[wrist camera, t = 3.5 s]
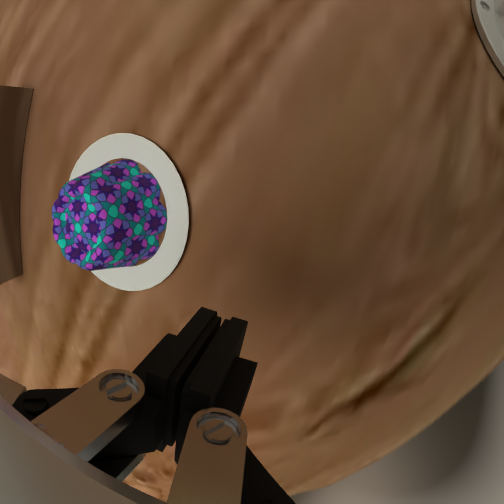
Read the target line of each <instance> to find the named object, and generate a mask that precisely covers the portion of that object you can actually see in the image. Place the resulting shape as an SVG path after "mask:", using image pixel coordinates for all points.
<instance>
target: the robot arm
mask: <svg viewBox="0 0 504 504" xmlns="http://www.w3.org/2000/svg"><path fill="white" fill-rule="evenodd" d="M471 4H472V12H473V17H474V21H475V24H476V27H477V29H478V32H479V35H480V37H481V39H482V41H483V43H484V45H485V47H486V50H487V51H488V53H489V55H490V56H491V58H492V60H493V62H494V63H495V65H496V67H497V68H498V69H499V71H500V72H501V74H502V75H503V77H504V0H471ZM220 324H221V317H218V316H217V312H216V311H213V310H210V309H207V308H204V307H201V308H200V309H199V310H198V312H197V313H196V314H195V315H194V316H193V317H192V319H191V320H190V321H189V322H188V323H187V324H186V326H185V327H184V328H183V329H182V330H181V331H180V333H179V334H178V335H177V336H176V335H173V334H170V333H169V334H167V335H166V336H165V337H164V338H163V339H162V340H161V341H160V342H159V343H158V344H157V345H156V347H155V348H154V349H153V350H152V351H151V352H150V353H149V354H148V355H147V356H146V358H145V359H144V360H143V361H142V362H141V363H140V364H139V365H138V366H137V367H136V368H135V370H134V371H133V372H132V373H131V372H129V371H126V370H122V369H112V370H107V371H104V372H102V373H100V374H99V375H97V376H96V377H95V378H93V379H92V380H90V381H89V382H87V383H86V384H84V385H83V386H82V387H80V388H66V389H34V390H28V391H27V390H26V387H25V386H23V385H21V384H19V383H17V382H15V381H13V380H11V379H9V378H8V377H6V376H4V375H2V374H0V504H295V502H294V501H293V500H292V499H291V498H290V497H289V496H288V495H287V493H286V492H285V491H284V490H283V489H282V488H281V487H280V486H279V484H278V483H277V482H276V481H275V480H274V479H273V477H272V476H271V475H270V474H269V473H268V471H267V470H266V469H265V468H264V467H263V465H262V464H261V463H260V462H259V460H258V459H257V458H256V457H255V456H254V454H253V453H252V452H251V450H250V449H249V448H248V447H247V445H246V443H247V427H246V425H245V423H244V421H243V420H242V419H241V418H240V415H241V412H242V410H243V407H244V404H245V401H246V398H247V395H248V392H249V389H250V386H251V383H252V380H253V376H254V373H255V370H256V367H257V362H253V361H250V360H247V359H243V358H240V357H239V355H240V351H241V348H242V344H243V340H244V336H245V332H246V328H247V324H248V321H245V320H242V319H238V318H235V317H232V318H231V320H228V319H225V320H224V322H223V323H222V325H221V327H220ZM175 441H176V448H175V462H176V463H177V468H176V472H175V475H174V479H173V482H172V485H171V489H170V492H169V496H168V499H167V502H164V501H162V500H159V499H157V498H155V497H153V496H150V495H148V494H146V493H144V492H141V491H139V490H137V489H135V488H133V487H131V486H129V485H127V484H125V483H123V482H122V481H123V480H124V479H125V478H126V477H127V476H128V475H129V474H130V473H131V472H132V471H133V470H134V469H135V468H136V467H137V465H138V464H139V463H140V462H141V461H142V460H143V459H144V457H145V455H146V453H149V452H154V451H155V450H156V449H157V450H159V451H161V452H163V450H164V449H165V447H166V445H169V446H173V444H174V443H175Z"/></svg>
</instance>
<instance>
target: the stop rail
mask: <svg viewBox="0 0 504 504" xmlns="http://www.w3.org/2000/svg"><path fill="white" fill-rule="evenodd" d="M32 94H33V89H29V88H21V87H10V86H0V284H2V283H4V282H6V281H9V280H11V279H13V278H15V277H17V276H20V275H22V274H23V271H22V259H21V244H20V183H21V168H22V157H23V148H24V140H25V132H26V126H27V120H28V114H29V108H30V103H31V98H32Z"/></svg>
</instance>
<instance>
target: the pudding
mask: <svg viewBox="0 0 504 504" xmlns="http://www.w3.org/2000/svg"><path fill="white" fill-rule="evenodd" d="M117 158H127V159H128V160H120V161H118V162H115V163H113V164H110V163H107V164H105V165H102V164H104V163H106V162H107V161H110V160H113V159H117ZM130 159H132V160H135V161H137V162H139V163H141V164H142V165H144V166H145V167H146V168H147V169H148V170H149V171H150V172H151V173H152V174H153V175H154V177H155V178H156V179H157V180H156V179H155V178H154V177H153V176H152V175H151V174H150V173H141V171H140V169H139V167H138V164H137V163H136V162H134V161H132V160H130ZM101 165H102V166H101ZM157 181H158V182H157ZM158 183H159V185H160V187H161V188H162V191H163V194H164V197H165V201H166V206H167V215H166V209H165V208H164V207H163V205H162V204H161V203H160V202H159V196H160V187H159V185H158ZM52 218H53V221H54V225H53V235H54V238H55V241H56V242H57V243H58V244H59V245H60V247H61V251H62V254H63V255H64V257H65V258H66V259H67V260H68V261H69V262H71V263H73V264H78V266H79V267H80V268H82V269H86V270H89V271H91V272H92V273H93V274H94V275H96V276H97V277H98V278H99V279H100V280H102V281H103V282H105V283H107V284H108V285H110V286H113V287H115V288H118V289H121V290H127V291H141V290H145V289H149V288H151V287H153V286H155V285H157V284H159V283H161V282H162V281H163V280H164V279H165V278H167V277H168V276H169V275H170V273H171V272H172V271H173V270H174V268H175V267H176V266H177V264H178V262H179V260H180V258H181V256H182V254H183V251H184V247H185V244H186V240H187V234H188V226H189V216H188V204H187V198H186V193H185V190H184V187H183V184H182V181H181V178H180V176H179V174H178V172H177V170H176V168H175V166H174V165H173V163H172V162H171V160H170V159H169V158H168V157H167V155H166V154H165V153H164V152H163V151H162V150H161V149H160V148H159V147H158V146H156V145H155V144H154V143H153V142H151V141H149V140H147V139H145V138H144V137H141V136H138V135H134V134H129V133H118V134H112V135H108V136H106V137H103V138H101V139H99V140H98V141H96V142H95V143H93V144H92V145H91V146H90V147H89V148H88V149H87V150H86V151H85V152H84V153H83V154H82V155H81V157H80V158H79V160H78V161H77V163H76V165H75V167H74V169H73V171H72V173H71V176H70V179H69V182H67V183H66V184H65V185H64V186H63V187H62V189H61V190H60V192H59V197H58V199H57V200H56V201H55V202H54V204H53V207H52ZM166 222H167V229H166V233H165V237H164V240H163V242H162V244H161V247H160V248H159V250H158V251H157V249H158V247H159V242H158V235H159V234H160V233H161V232H162V231H163V230H165V227H166ZM156 251H157V253H156ZM155 253H156V254H155ZM154 254H155V255H154ZM153 255H154V256H153ZM151 256H153V257H152V258H151V259H150V260H148V261H147V262H145V263H144V264H141V265H138V266H133V267H127V266H132V265H136V263H137V261H138V260H141V259H148V258H150V257H151Z"/></svg>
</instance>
